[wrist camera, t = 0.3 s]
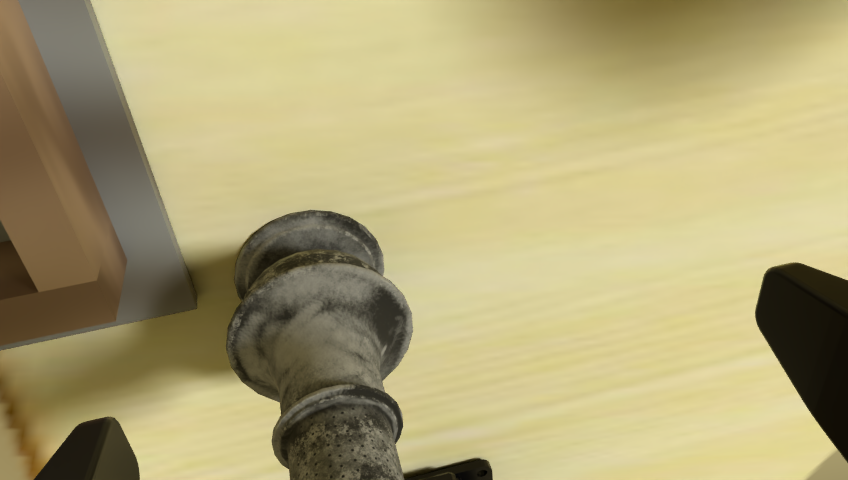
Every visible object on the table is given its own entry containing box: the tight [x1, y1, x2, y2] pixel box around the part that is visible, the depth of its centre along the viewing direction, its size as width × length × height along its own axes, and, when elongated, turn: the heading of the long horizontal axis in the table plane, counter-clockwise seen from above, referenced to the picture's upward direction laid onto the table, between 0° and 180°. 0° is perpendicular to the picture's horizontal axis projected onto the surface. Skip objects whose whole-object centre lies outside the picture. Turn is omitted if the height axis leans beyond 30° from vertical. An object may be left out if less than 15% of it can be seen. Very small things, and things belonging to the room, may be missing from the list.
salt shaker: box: [226, 210, 413, 480], centre depth 20 cm, size 6×6×12 cm
